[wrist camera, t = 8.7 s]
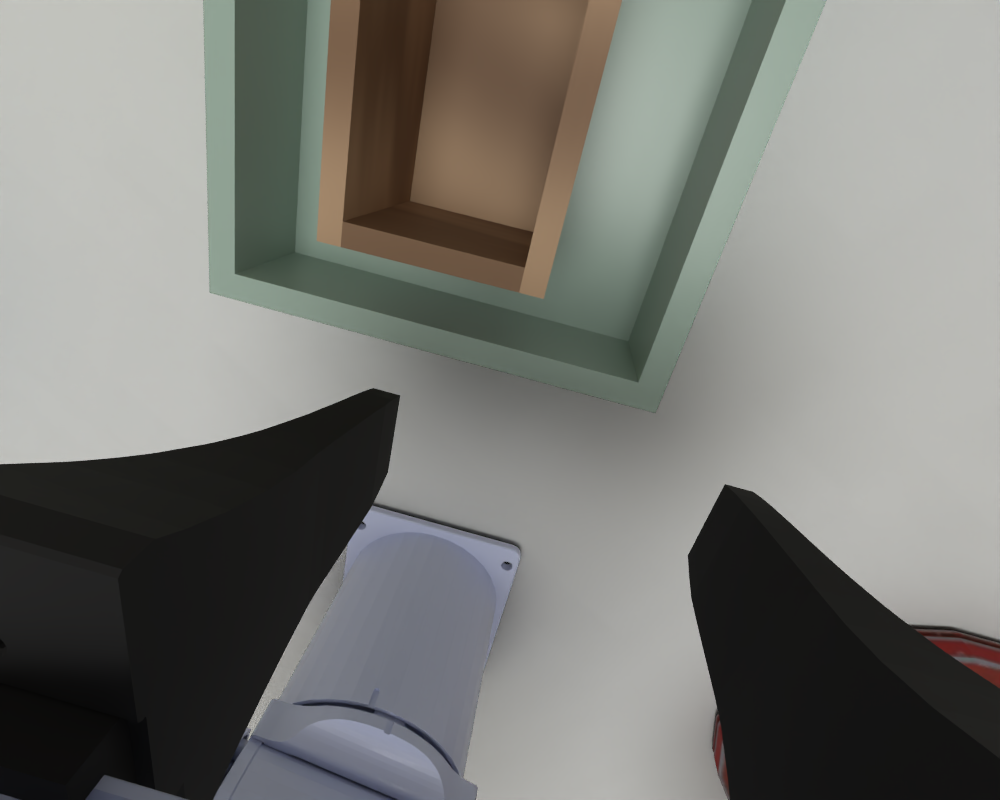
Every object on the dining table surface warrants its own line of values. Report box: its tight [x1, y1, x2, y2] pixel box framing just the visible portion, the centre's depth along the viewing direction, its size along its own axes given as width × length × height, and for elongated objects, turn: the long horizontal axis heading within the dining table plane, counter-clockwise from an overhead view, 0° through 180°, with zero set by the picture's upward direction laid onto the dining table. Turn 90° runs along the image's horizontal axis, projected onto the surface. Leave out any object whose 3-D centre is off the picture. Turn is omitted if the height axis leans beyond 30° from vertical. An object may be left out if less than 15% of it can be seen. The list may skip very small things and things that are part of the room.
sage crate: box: [203, 0, 826, 413], centre depth 15 cm, size 14×14×4 cm
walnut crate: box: [317, 0, 622, 299], centre depth 13 cm, size 8×6×6 cm
